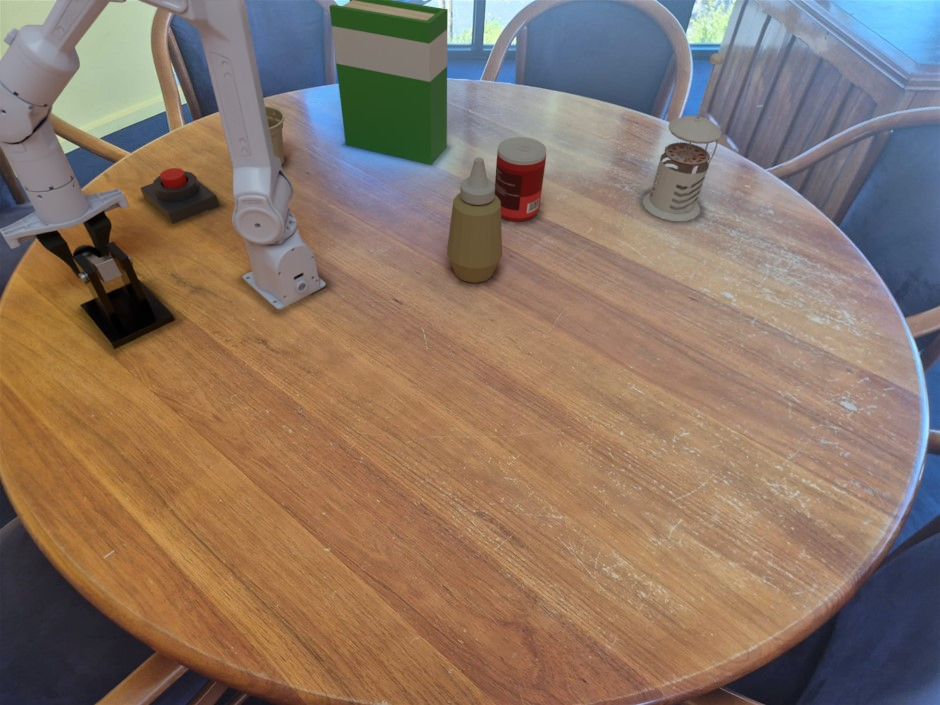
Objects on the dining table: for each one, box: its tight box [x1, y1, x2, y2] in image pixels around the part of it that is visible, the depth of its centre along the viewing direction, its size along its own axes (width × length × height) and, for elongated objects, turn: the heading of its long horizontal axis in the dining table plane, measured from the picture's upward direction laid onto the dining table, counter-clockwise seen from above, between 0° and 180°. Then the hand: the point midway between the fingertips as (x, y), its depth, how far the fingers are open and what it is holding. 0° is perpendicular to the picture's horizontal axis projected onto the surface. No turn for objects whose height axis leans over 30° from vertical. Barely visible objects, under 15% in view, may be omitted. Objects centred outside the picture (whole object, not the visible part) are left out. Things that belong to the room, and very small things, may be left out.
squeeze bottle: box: [446, 157, 503, 283], centre depth 85 cm, size 8×8×18 cm
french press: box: [641, 52, 724, 222], centre depth 98 cm, size 10×12×25 cm
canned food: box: [494, 136, 547, 223], centre depth 100 cm, size 8×8×11 cm
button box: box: [140, 170, 220, 225], centre depth 100 cm, size 10×8×4 cm
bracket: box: [73, 241, 176, 350], centre depth 79 cm, size 10×8×10 cm
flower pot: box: [265, 105, 286, 165], centre depth 108 cm, size 9×9×9 cm
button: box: [159, 167, 187, 188], centre depth 99 cm, size 4×4×2 cm
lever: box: [72, 244, 122, 284], centre depth 80 cm, size 13×3×3 cm, turn 45°
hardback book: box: [329, 0, 449, 165], centre depth 109 cm, size 18×7×24 cm, turn 69°
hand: (93, 268), depth 85 cm, fingers closed on lever, 3 cm apart
